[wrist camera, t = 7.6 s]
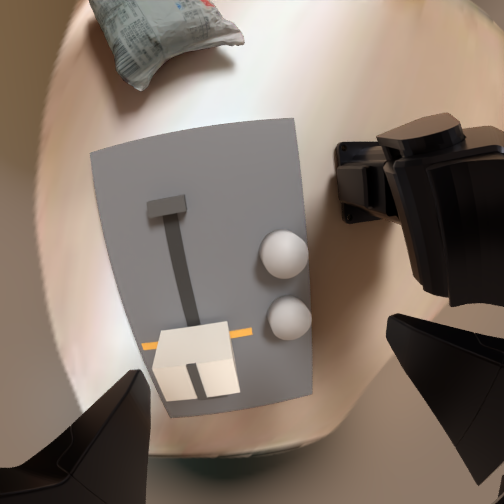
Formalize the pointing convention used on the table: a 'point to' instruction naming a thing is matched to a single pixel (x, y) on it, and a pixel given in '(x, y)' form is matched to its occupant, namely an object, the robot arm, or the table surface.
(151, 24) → the packaged food
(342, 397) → the table surface
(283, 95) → the table surface
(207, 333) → the block
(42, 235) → the table surface
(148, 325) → the console
